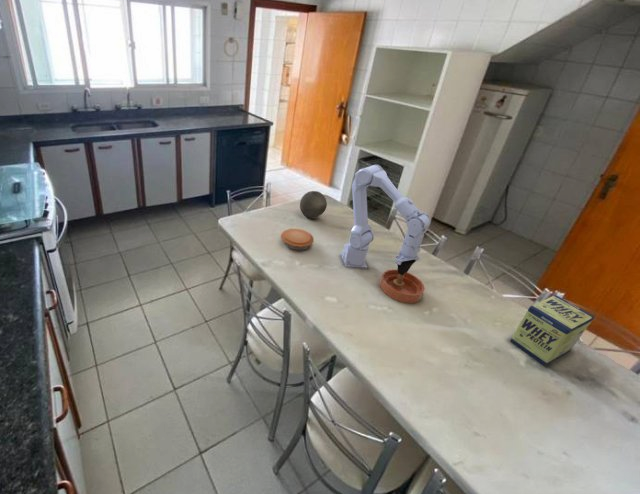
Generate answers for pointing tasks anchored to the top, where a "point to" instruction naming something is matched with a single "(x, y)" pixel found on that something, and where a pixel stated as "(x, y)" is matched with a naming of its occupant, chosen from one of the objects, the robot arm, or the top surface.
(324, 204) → the grey stone ball
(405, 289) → the bowl
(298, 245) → the pie
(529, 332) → the protein box
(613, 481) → the top surface
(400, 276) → the masher
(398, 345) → the top surface
